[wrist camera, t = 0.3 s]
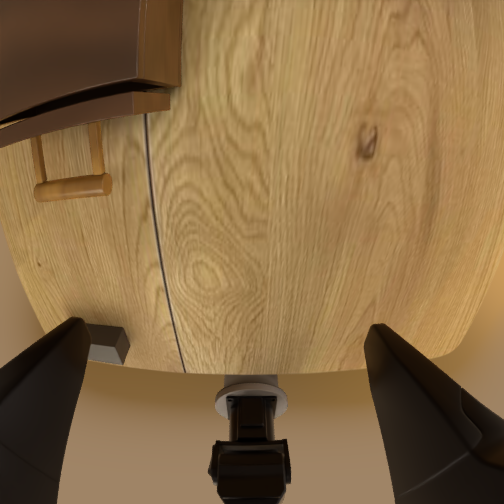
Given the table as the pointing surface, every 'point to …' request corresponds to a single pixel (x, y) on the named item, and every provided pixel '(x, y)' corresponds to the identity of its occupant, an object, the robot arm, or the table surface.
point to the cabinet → (84, 51)
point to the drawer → (92, 115)
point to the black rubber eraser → (108, 344)
